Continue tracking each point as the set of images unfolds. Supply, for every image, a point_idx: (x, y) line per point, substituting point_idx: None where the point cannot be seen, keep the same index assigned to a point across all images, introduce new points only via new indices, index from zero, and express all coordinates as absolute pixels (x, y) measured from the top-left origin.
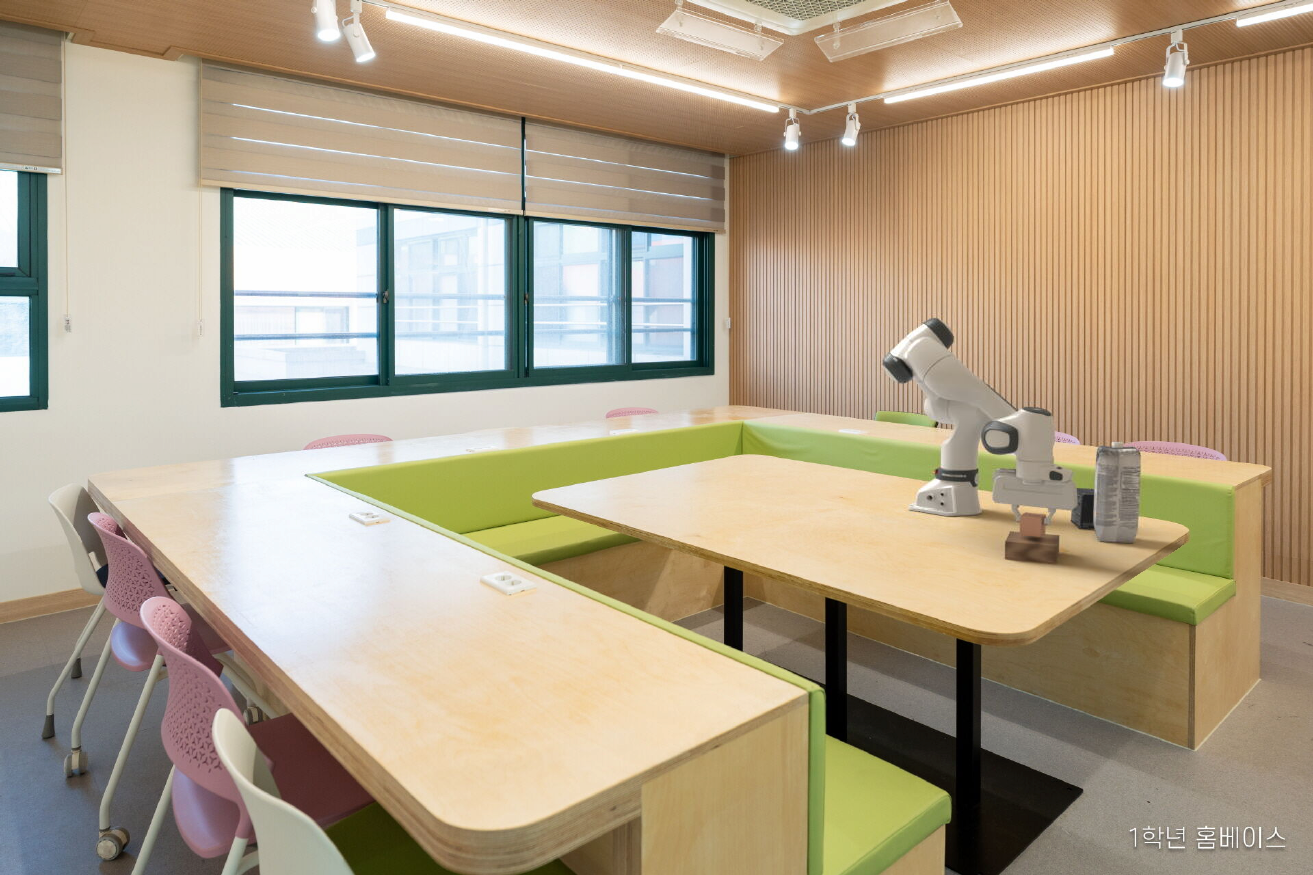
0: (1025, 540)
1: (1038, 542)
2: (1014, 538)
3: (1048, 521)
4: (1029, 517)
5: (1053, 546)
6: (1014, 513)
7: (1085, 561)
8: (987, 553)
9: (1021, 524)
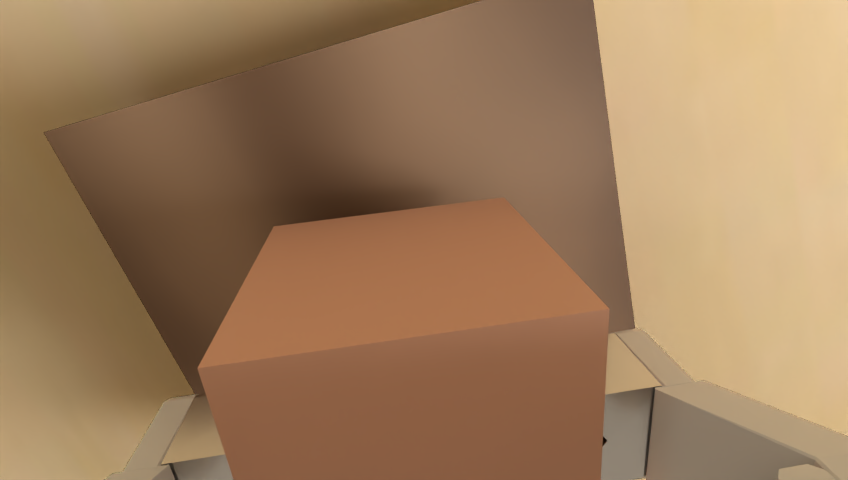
0: (418, 159)
1: (274, 159)
2: (540, 175)
3: (153, 434)
4: (426, 325)
5: (82, 122)
6: (738, 394)
7: (32, 316)
8: (680, 81)
9: (524, 242)
